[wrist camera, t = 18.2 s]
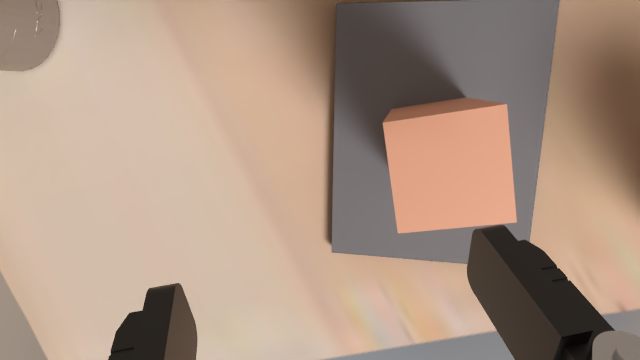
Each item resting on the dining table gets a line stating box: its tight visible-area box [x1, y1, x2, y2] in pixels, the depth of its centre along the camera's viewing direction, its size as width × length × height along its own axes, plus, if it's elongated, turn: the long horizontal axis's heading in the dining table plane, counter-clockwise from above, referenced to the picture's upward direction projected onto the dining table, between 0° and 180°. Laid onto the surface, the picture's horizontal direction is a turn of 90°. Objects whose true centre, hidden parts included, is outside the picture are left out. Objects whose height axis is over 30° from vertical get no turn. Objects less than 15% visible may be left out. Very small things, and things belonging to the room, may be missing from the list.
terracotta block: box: [383, 97, 517, 233], centre depth 24 cm, size 5×5×12 cm
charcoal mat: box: [332, 0, 559, 264], centre depth 30 cm, size 14×18×1 cm
